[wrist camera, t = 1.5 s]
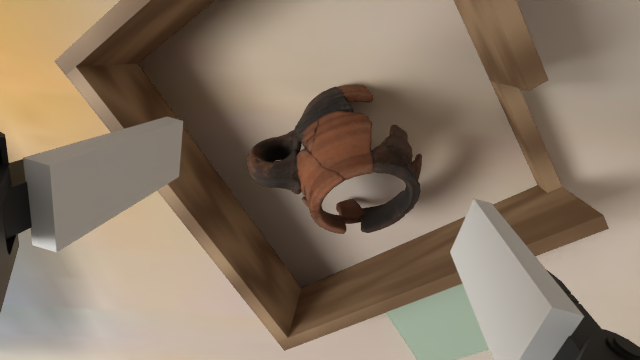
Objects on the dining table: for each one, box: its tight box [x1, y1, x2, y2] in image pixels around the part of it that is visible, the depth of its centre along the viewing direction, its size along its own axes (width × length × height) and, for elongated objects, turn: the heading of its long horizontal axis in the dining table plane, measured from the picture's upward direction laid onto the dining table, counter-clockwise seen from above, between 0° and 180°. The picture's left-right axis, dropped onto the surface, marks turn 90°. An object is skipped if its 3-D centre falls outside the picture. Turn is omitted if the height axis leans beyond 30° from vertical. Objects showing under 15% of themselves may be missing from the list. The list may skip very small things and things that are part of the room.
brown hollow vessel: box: [246, 85, 422, 234], centre depth 24 cm, size 12×9×8 cm
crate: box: [55, 0, 609, 351], centre depth 23 cm, size 26×24×6 cm
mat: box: [386, 284, 489, 360], centre depth 30 cm, size 11×12×1 cm
